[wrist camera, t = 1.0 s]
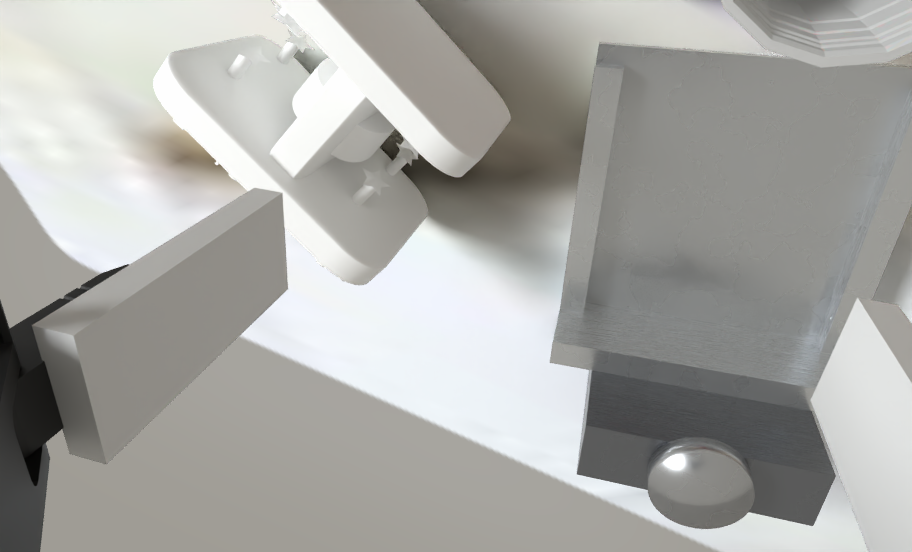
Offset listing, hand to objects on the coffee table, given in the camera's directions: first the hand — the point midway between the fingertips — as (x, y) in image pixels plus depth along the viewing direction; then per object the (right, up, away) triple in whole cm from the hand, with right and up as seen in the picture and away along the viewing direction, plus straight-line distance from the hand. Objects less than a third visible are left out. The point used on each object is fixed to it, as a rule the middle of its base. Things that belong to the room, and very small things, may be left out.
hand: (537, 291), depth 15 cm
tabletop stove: (+14, +2, +23) cm, 27 cm away
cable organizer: (-6, +12, +24) cm, 28 cm away
